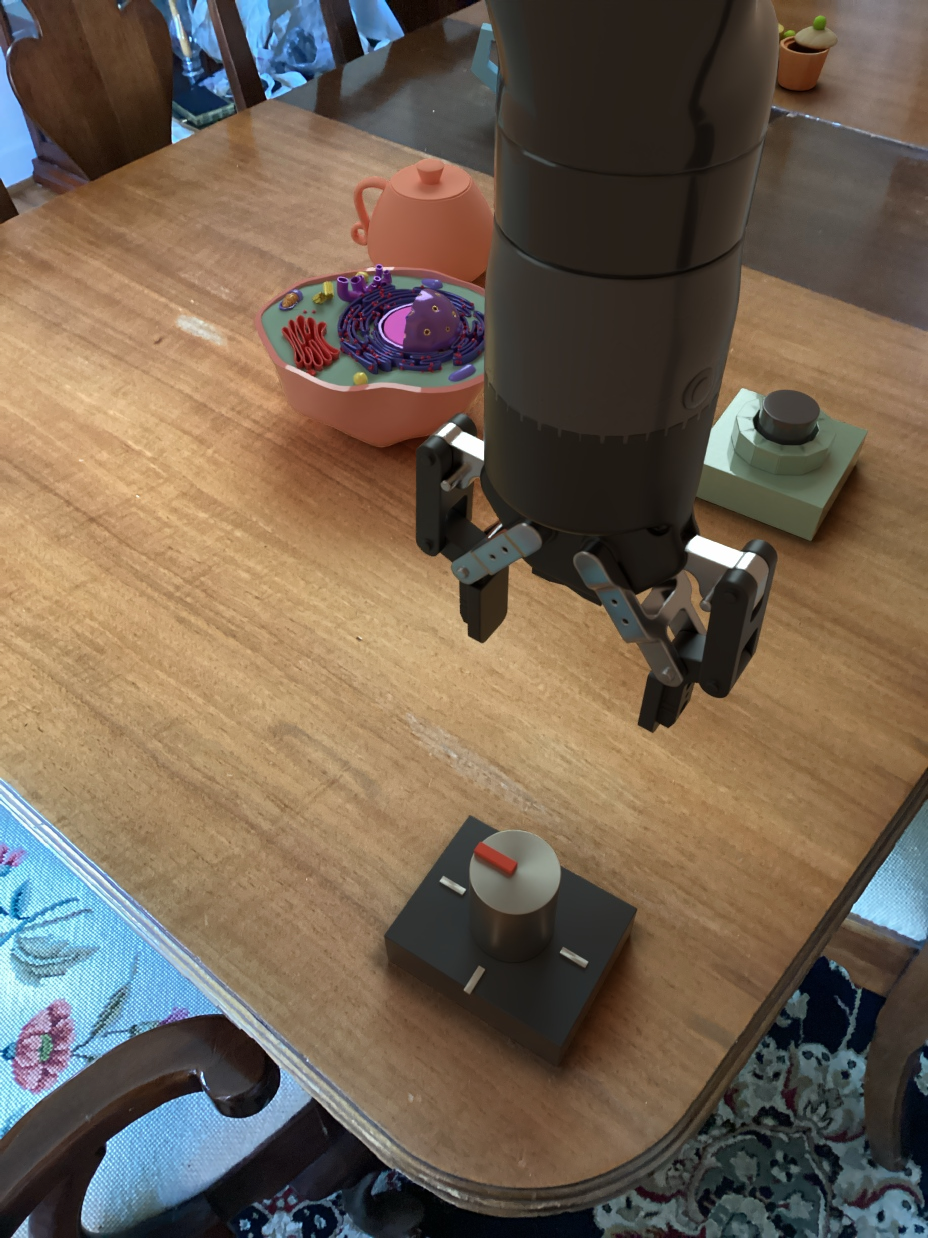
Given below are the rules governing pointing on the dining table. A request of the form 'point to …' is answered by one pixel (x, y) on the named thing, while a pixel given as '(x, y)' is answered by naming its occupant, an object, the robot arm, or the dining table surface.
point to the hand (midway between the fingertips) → (568, 670)
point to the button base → (777, 468)
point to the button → (788, 417)
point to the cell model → (378, 350)
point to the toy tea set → (804, 54)
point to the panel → (511, 991)
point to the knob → (513, 894)
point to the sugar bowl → (427, 221)
